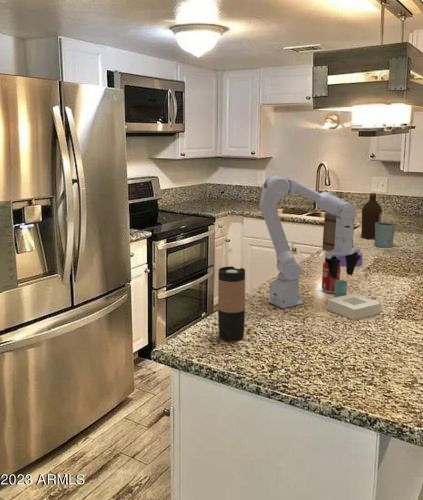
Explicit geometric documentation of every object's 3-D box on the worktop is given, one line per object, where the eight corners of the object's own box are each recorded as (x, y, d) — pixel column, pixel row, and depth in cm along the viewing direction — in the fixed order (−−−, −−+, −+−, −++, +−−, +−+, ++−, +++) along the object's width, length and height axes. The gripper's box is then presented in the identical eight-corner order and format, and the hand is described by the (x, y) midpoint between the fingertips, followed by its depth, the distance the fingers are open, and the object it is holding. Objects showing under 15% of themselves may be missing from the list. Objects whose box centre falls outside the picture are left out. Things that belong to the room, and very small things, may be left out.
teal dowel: (340, 303, 173) (341, 284, 172) (331, 300, 177) (332, 281, 175) (348, 301, 175) (349, 282, 174) (340, 298, 179) (341, 279, 177)
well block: (354, 320, 158) (354, 309, 157) (326, 309, 168) (327, 299, 167) (380, 313, 164) (381, 303, 163) (352, 303, 174) (353, 293, 173)
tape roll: (363, 267, 220) (364, 256, 219) (336, 266, 222) (336, 255, 221) (360, 261, 232) (360, 250, 230) (333, 260, 233) (334, 249, 232)
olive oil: (360, 239, 279) (363, 194, 273) (359, 235, 289) (362, 192, 283) (380, 240, 276) (383, 194, 271) (379, 236, 286) (382, 192, 281)
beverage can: (326, 287, 191) (328, 257, 189) (341, 290, 187) (343, 259, 185) (318, 291, 186) (320, 260, 184) (334, 294, 183) (336, 262, 180)
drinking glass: (370, 244, 265) (371, 222, 262) (387, 244, 267) (389, 221, 264) (379, 248, 255) (381, 225, 253) (397, 248, 257) (399, 225, 254)
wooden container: (358, 251, 250) (361, 207, 245) (331, 253, 246) (333, 208, 241) (343, 245, 264) (345, 203, 259) (317, 247, 260) (319, 204, 255)
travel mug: (222, 343, 141) (222, 274, 136) (214, 333, 148) (214, 267, 143) (248, 340, 143) (249, 272, 138) (239, 330, 150) (240, 265, 145)
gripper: (336, 242, 164) (334, 282, 167) (367, 237, 171) (365, 275, 174) (321, 238, 170) (319, 277, 173) (352, 233, 177) (350, 271, 180)
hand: (341, 276), depth 174 cm, fingers open, 7 cm apart
